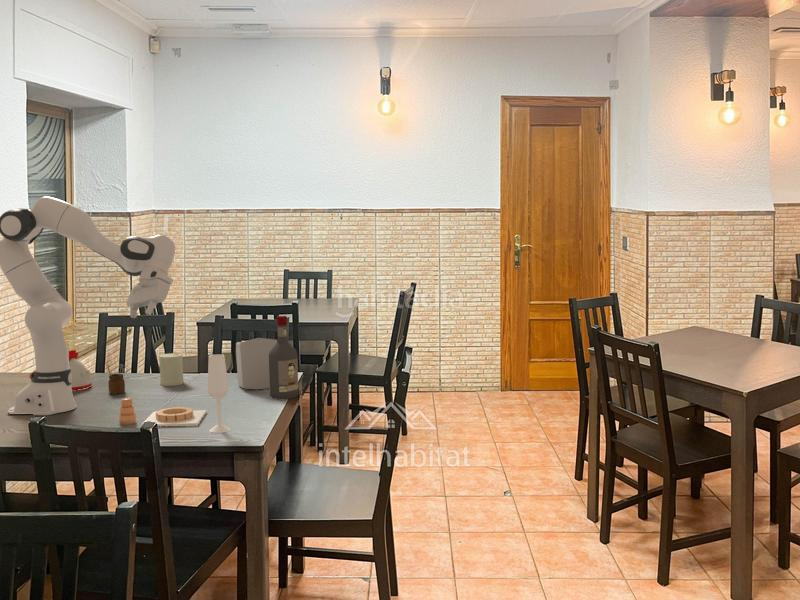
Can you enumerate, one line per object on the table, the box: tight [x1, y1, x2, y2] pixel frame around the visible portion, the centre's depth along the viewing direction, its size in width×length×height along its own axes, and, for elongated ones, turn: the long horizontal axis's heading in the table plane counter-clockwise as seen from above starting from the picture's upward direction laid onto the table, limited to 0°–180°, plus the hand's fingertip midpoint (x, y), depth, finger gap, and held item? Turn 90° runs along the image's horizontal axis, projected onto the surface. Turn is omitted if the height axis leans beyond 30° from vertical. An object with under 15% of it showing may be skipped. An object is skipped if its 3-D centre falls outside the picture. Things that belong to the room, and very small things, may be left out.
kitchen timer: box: [68, 349, 93, 390], centre depth 352 cm, size 14×14×15 cm
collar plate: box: [140, 406, 207, 428], centre depth 298 cm, size 18×18×3 cm
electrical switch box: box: [235, 337, 278, 390], centre depth 350 cm, size 15×15×20 cm
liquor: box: [269, 315, 299, 400], centre depth 329 cm, size 9×9×30 cm
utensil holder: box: [106, 362, 126, 395], centre depth 341 cm, size 6×6×12 cm
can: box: [158, 352, 185, 387], centre depth 357 cm, size 9×9×12 cm
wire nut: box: [118, 397, 137, 426], centre depth 295 cm, size 5×5×8 cm
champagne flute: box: [206, 354, 231, 434], centre depth 282 cm, size 7×7×24 cm
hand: (140, 315), depth 305 cm, fingers open, 8 cm apart
